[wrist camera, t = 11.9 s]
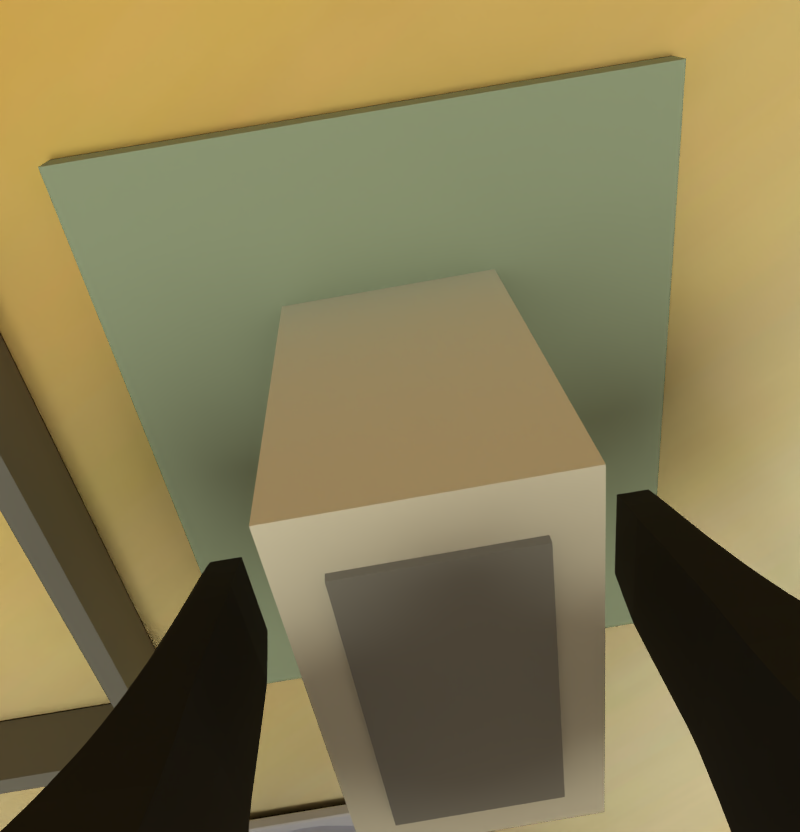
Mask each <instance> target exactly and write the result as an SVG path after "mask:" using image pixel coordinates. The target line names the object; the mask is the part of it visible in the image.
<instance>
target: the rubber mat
mask: <svg viewBox="0 0 800 832" xmlns="http://www.w3.org/2000/svg"><path fill="white" fill-rule="evenodd" d="M685 66H686V59H685V58H680V57H675V56H669V57H663V58H657V59H651V60H645V61H639V62H633V63H627V64H621V65H615V66H609V67H603V68H597V69H591V70H585V71H579V72H573V73H567V74H561V75H555V76H549V77H543V78H537V79H531V80H525V81H519V82H513V83H507V84H501V85H495V86H489V87H483V88H477V89H471V90H465V91H459V92H454V93H448V94H442V95H436V96H430V97H424V98H418V99H412V100H406V101H400V102H394V103H388V104H382V105H376V106H370V107H364V108H358V109H352V110H346V111H340V112H334V113H328V114H322V115H316V116H310V117H304V118H298V119H292V120H286V121H280V122H274V123H268V124H262V125H256V126H250V127H244V128H238V129H232V130H226V131H221V132H215V133H209V134H203V135H197V136H191V137H185V138H179V139H173V140H167V141H161V142H155V143H149V144H143V145H137V146H131V147H125V148H119V149H113V150H107V151H101V152H95V153H89V154H83V155H77V156H71V157H65V158H59V159H53V160H49V161H47V162H46V163H44V164H42V165H41V166H39V167H38V168H39V170H40V173H41V175H42V178H43V180H44V183H45V185H46V188H47V190H48V193H49V195H50V198H51V200H52V203H53V205H54V208H55V210H56V213H57V215H58V218H59V220H60V223H61V225H62V228H63V230H64V233H65V235H66V238H67V240H68V243H69V245H70V247H71V250H72V252H73V255H74V257H75V260H76V262H77V265H78V267H79V270H80V272H81V275H82V277H83V280H84V282H85V285H86V287H87V290H88V292H89V295H90V297H91V300H92V302H93V305H94V307H95V310H96V312H97V315H98V317H99V320H100V322H101V325H102V327H103V330H104V332H105V334H106V337H107V339H108V342H109V344H110V347H111V349H112V352H113V354H114V357H115V359H116V362H117V364H118V367H119V369H120V372H121V374H122V377H123V379H124V382H125V384H126V387H127V389H128V392H129V394H130V397H131V399H132V402H133V404H134V407H135V409H136V412H137V414H138V416H139V419H140V421H141V424H142V426H143V429H144V431H145V434H146V436H147V439H148V441H149V444H150V446H151V449H152V451H153V454H154V456H155V459H156V461H157V464H158V466H159V469H160V471H161V474H162V476H163V479H164V481H165V484H166V486H167V489H168V491H169V494H170V496H171V499H172V501H173V503H174V506H175V508H176V511H177V513H178V516H179V518H180V521H181V523H182V526H183V528H184V531H185V533H186V536H187V538H188V541H189V543H190V546H191V548H192V551H193V553H194V556H195V558H196V561H197V563H198V566H199V568H200V571H201V573H203V572H204V570H205V568H206V567H207V565H208V564H209V563H210V562H213V561H219V560H226V559H232V558H238V557H242V559H243V562H244V565H245V568H246V571H247V574H248V576H249V579H250V582H251V585H252V588H253V591H254V593H255V596H256V599H257V602H258V605H259V608H260V610H261V613H262V616H263V619H264V622H265V625H266V627H267V630H268V661H267V683H273V682H279V681H285V680H292V679H298V678H302V676H301V674H300V671H299V668H298V665H297V662H296V659H295V656H294V654H293V651H292V648H291V645H290V642H289V639H288V636H287V634H286V631H285V628H284V625H283V622H282V619H281V617H280V614H279V611H278V608H277V605H276V602H275V599H274V597H273V594H272V591H271V588H270V585H269V582H268V579H267V577H266V574H265V571H264V568H263V565H262V562H261V559H260V557H259V554H258V551H257V548H256V545H255V542H254V539H253V537H252V534H251V531H250V528H249V522H250V516H251V509H252V502H253V495H254V489H255V482H256V475H257V469H258V462H259V455H260V449H261V442H262V435H263V429H264V422H265V415H266V409H267V402H268V395H269V389H270V382H271V375H272V369H273V362H274V355H275V349H276V342H277V335H278V329H279V322H280V315H281V309H282V306H288V305H293V304H299V303H305V302H310V301H316V300H322V299H327V298H333V297H339V296H344V295H350V294H356V293H361V292H367V291H373V290H379V289H384V288H390V287H396V286H401V285H407V284H413V283H418V282H424V281H430V280H435V279H441V278H447V277H452V276H458V275H464V274H469V273H475V272H481V271H486V270H492V269H495V271H496V272H497V274H498V276H499V278H500V279H501V281H502V283H503V285H504V286H505V288H506V290H507V292H508V294H509V295H510V297H511V299H512V301H513V302H514V304H515V306H516V308H517V309H518V311H519V313H520V315H521V316H522V318H523V320H524V322H525V323H526V325H527V327H528V329H529V330H530V332H531V334H532V336H533V337H534V339H535V341H536V343H537V344H538V346H539V348H540V350H541V351H542V353H543V355H544V357H545V358H546V360H547V362H548V364H549V365H550V367H551V369H552V371H553V372H554V374H555V376H556V378H557V379H558V381H559V383H560V385H561V386H562V388H563V390H564V392H565V394H566V395H567V397H568V399H569V401H570V402H571V404H572V406H573V408H574V409H575V411H576V413H577V415H578V416H579V418H580V420H581V422H582V423H583V425H584V427H585V429H586V430H587V432H588V434H589V436H590V437H591V439H592V441H593V443H594V444H595V446H596V448H597V450H598V451H599V453H600V455H601V457H602V458H603V460H604V462H605V464H606V550H605V628H608V627H614V626H620V625H626V624H632V623H633V621H632V618H631V616H630V613H629V611H628V608H627V605H626V603H625V600H624V597H623V595H622V592H621V589H620V586H619V584H618V581H617V578H616V575H615V541H616V503H617V494H623V493H629V492H635V491H642V490H648V489H649V490H650V491H651V492H653V493H654V494H655V495H657V486H658V471H659V456H660V441H661V426H662V411H663V396H664V381H665V366H666V351H667V336H668V321H669V306H670V291H671V276H672V261H673V246H674V231H675V216H676V201H677V186H678V171H679V156H680V141H681V126H682V111H683V96H684V81H685Z"/></svg>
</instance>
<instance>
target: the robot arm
mask: <svg viewBox="0 0 800 832" xmlns="http://www.w3.org/2000/svg"><path fill="white" fill-rule="evenodd" d="M615 575H616V578H617V581H618V584H619V586H620V589H621V592H622V595H623V597H624V600H625V603H626V605H627V608H628V611H629V613H630V616H631V618H632V621H633V623H634V625H635V627H636V629H637V631H638V633H639V635H640V637H641V639H642V641H643V642H644V644H645V646H646V648H647V650H648V652H649V654H650V656H651V658H652V660H653V662H654V664H655V666H656V667H657V669H658V671H659V673H660V675H661V677H662V679H663V681H664V683H665V685H666V686H667V688H668V690H669V692H670V694H671V696H672V698H673V700H674V702H675V704H676V705H677V707H678V709H679V711H680V713H681V715H682V717H683V719H684V721H685V723H686V724H687V726H688V729H689V731H690V733H691V735H692V737H693V739H694V741H695V743H696V745H697V748H698V750H699V752H700V755H701V757H702V760H703V762H704V764H705V767H706V769H707V772H708V774H709V777H710V779H711V782H712V784H713V787H714V789H715V791H716V794H717V796H718V799H719V801H720V804H721V806H722V809H723V812H724V814H725V817H726V819H727V822H728V824H729V827H730V830H731V832H800V600H798V599H797V598H795V597H793V596H792V595H790V594H788V593H787V592H785V591H784V590H782V589H781V588H779V587H778V586H776V585H775V584H773V583H772V582H770V581H769V580H767V579H766V578H764V577H763V576H761V575H760V574H758V573H757V572H755V571H754V570H753V569H751V568H750V567H748V566H747V565H745V564H744V563H743V562H741V561H740V560H739V559H737V558H736V557H735V556H733V555H732V554H731V553H729V552H728V551H726V550H725V549H724V548H722V547H721V546H720V545H718V544H717V543H716V542H714V541H713V540H712V539H711V538H709V537H708V536H707V535H705V534H704V533H703V532H702V531H700V530H699V529H698V528H696V527H695V526H694V525H693V524H691V523H690V522H689V521H688V520H686V519H685V518H684V517H683V516H681V515H680V514H679V513H678V512H676V511H675V510H674V509H673V508H672V507H670V506H669V505H668V504H667V503H665V502H664V501H663V500H662V499H660V498H659V497H658V496H657V495H655V494H654V493H653V492H651V491H650V490H649V489H648V490H642V491H635V492H629V493H623V494H617V503H616V541H615ZM267 661H268V630H267V627H266V625H265V622H264V619H263V616H262V613H261V610H260V608H259V605H258V602H257V599H256V596H255V593H254V591H253V588H252V585H251V582H250V579H249V576H248V574H247V571H246V568H245V565H244V562H243V559H242V557H238V558H232V559H226V560H219V561H213V562H210V563H209V564H208V565H207V567H206V568H205V570H204V572H203V573H202V575H201V577H200V578H199V580H198V582H197V583H196V585H195V587H194V588H193V590H192V592H191V594H190V595H189V597H188V599H187V600H186V602H185V604H184V605H183V607H182V609H181V610H180V612H179V614H178V615H177V617H176V618H175V620H174V622H173V623H172V625H171V626H170V628H169V630H168V631H167V633H166V634H165V636H164V637H163V639H162V640H161V642H160V644H159V645H158V647H157V648H156V650H155V651H154V653H153V654H152V656H151V657H150V659H149V660H148V662H147V663H146V665H145V666H144V667H143V669H142V670H141V672H140V673H139V675H138V676H137V677H136V679H135V680H134V682H133V683H132V684H131V686H130V687H129V689H128V690H127V691H126V693H125V694H124V696H123V697H122V698H121V700H120V701H119V702H118V704H117V705H116V706H115V707H114V709H113V710H112V711H111V713H110V714H109V715H108V716H107V718H106V719H105V720H104V722H103V723H102V724H101V725H100V726H99V728H98V729H97V730H96V731H95V732H94V734H93V735H92V736H91V737H90V739H89V740H88V741H87V742H86V743H85V745H84V746H83V747H82V748H81V749H80V750H79V751H78V753H77V754H76V755H75V756H74V757H73V758H72V759H71V760H70V761H69V762H68V764H67V765H66V766H65V767H64V768H63V769H62V770H61V771H60V772H59V773H58V774H57V775H56V776H55V777H54V778H53V779H52V781H51V782H50V783H49V784H48V785H47V786H46V787H45V788H44V789H43V790H42V791H41V792H40V793H39V794H38V795H37V796H36V797H35V798H34V799H33V800H32V801H31V802H30V803H29V804H28V805H27V806H26V807H25V808H24V809H23V810H22V811H21V812H20V813H19V814H18V815H17V816H16V817H15V818H14V819H13V820H12V821H11V822H10V823H9V824H8V825H7V826H6V827H5V828H4V829H2V830H1V831H0V832H356V831H355V828H354V825H353V822H352V819H351V816H350V813H349V811H348V808H347V805H346V804H345V805H339V806H333V807H326V808H320V809H314V810H308V811H302V812H296V813H290V814H284V815H278V816H272V817H265V818H259V819H253V820H250V809H251V798H252V791H253V783H254V776H255V769H256V761H257V754H258V747H259V739H260V732H261V725H262V717H263V710H264V702H265V694H266V686H267Z"/></svg>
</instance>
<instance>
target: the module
mask: <svg viewBox="0 0 800 832" xmlns="http://www.w3.org/2000/svg"><path fill="white" fill-rule="evenodd" d="M249 528H250V531H251V534H252V537H253V539H254V542H255V545H256V548H257V551H258V554H259V557H260V559H261V562H262V565H263V568H264V571H265V574H266V577H267V579H268V582H269V585H270V588H271V591H272V594H273V597H274V599H275V602H276V605H277V608H278V611H279V614H280V617H281V619H282V622H283V625H284V628H285V631H286V634H287V636H288V639H289V642H290V645H291V648H292V651H293V654H294V656H295V659H296V662H297V665H298V668H299V671H300V674H301V676H302V679H303V682H304V685H305V688H306V691H307V694H308V696H309V699H310V702H311V705H312V708H313V711H314V714H315V716H316V719H317V722H318V725H319V728H320V731H321V734H322V736H323V739H324V742H325V745H326V748H327V751H328V753H329V756H330V759H331V762H332V765H333V768H334V771H335V773H336V776H337V779H338V782H339V785H340V788H341V791H342V793H343V796H344V799H345V802H346V805H347V808H348V811H349V813H350V816H351V819H352V822H353V825H354V828H355V831H356V832H489V831H495V830H501V829H507V828H513V827H519V826H525V825H530V824H536V823H542V822H548V821H554V820H560V819H566V818H572V817H578V816H584V815H590V814H596V813H602V812H604V765H605V550H606V464H605V462H604V460H603V458H602V457H601V455H600V453H599V451H598V450H597V448H596V446H595V444H594V443H593V441H592V439H591V437H590V436H589V434H588V432H587V430H586V429H585V427H584V425H583V423H582V422H581V420H580V418H579V416H578V415H577V413H576V411H575V409H574V408H573V406H572V404H571V402H570V401H569V399H568V397H567V395H566V394H565V392H564V390H563V388H562V386H561V385H560V383H559V381H558V379H557V378H556V376H555V374H554V372H553V371H552V369H551V367H550V365H549V364H548V362H547V360H546V358H545V357H544V355H543V353H542V351H541V350H540V348H539V346H538V344H537V343H536V341H535V339H534V337H533V336H532V334H531V332H530V330H529V329H528V327H527V325H526V323H525V322H524V320H523V318H522V316H521V315H520V313H519V311H518V309H517V308H516V306H515V304H514V302H513V301H512V299H511V297H510V295H509V294H508V292H507V290H506V288H505V286H504V285H503V283H502V281H501V279H500V278H499V276H498V274H497V272H496V271H495V269H492V270H486V271H481V272H475V273H469V274H464V275H458V276H452V277H447V278H441V279H435V280H430V281H424V282H418V283H413V284H407V285H401V286H396V287H390V288H384V289H379V290H373V291H367V292H361V293H356V294H350V295H344V296H339V297H333V298H327V299H322V300H316V301H310V302H305V303H299V304H293V305H288V306H282V309H281V315H280V322H279V329H278V335H277V342H276V349H275V355H274V362H273V369H272V375H271V382H270V389H269V395H268V402H267V409H266V415H265V422H264V429H263V435H262V442H261V449H260V455H259V462H258V469H257V475H256V482H255V489H254V495H253V502H252V509H251V516H250V522H249Z"/></svg>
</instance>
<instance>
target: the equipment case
mask: <svg viewBox="0 0 800 832" xmlns="http://www.w3.org/2000/svg"><path fill="white" fill-rule="evenodd" d="M0 511H1V512H2V514H3V516H4V518H5V519H6V521H7V523H8V525H9V526H10V528H11V530H12V532H13V533H14V535H15V537H16V539H17V540H18V542H19V544H20V546H21V547H22V549H23V551H24V552H25V554H26V556H27V558H28V559H29V561H30V563H31V565H32V566H33V568H34V570H35V572H36V573H37V575H38V577H39V579H40V580H41V582H42V584H43V586H44V587H45V589H46V591H47V593H48V594H49V596H50V598H51V599H52V601H53V603H54V605H55V606H56V608H57V610H58V612H59V613H60V615H61V617H62V619H63V620H64V622H65V624H66V626H67V627H68V629H69V631H70V633H71V634H72V636H73V638H74V640H75V641H76V643H77V645H78V646H79V648H80V650H81V652H82V653H83V655H84V657H85V659H86V660H87V662H88V664H89V666H90V667H91V669H92V671H93V673H94V674H95V676H96V678H97V680H98V681H99V683H100V685H101V687H102V688H103V690H104V692H105V693H106V695H107V697H108V699H109V700H110V702H111V704H108V705H102V706H96V707H89V708H83V709H77V710H71V711H65V712H59V713H53V714H47V715H41V716H35V717H29V718H23V719H17V720H10V721H4V722H0V794H2V793H8V792H14V791H21V790H27V789H33V788H39V787H45V786H47V785H48V784H49V783H50V782H51V781H52V779H53V778H54V777H55V776H56V775H57V774H58V773H59V772H60V771H61V770H62V769H63V768H64V767H65V766H66V765H67V764H68V762H69V761H70V760H71V759H72V758H73V757H74V756H75V755H76V754H77V753H78V751H79V750H80V749H81V748H82V747H83V746H84V745H85V743H86V742H87V741H88V740H89V739H90V737H91V736H92V735H93V734H94V732H95V731H96V730H97V729H98V728H99V726H100V725H101V724H102V723H103V722H104V720H105V719H106V718H107V716H108V715H109V714H110V713H111V711H112V710H113V709H114V707H115V706H116V705H117V704H118V702H119V701H120V700H121V698H122V697H123V696H124V694H125V693H126V691H127V690H128V689H129V687H130V686H131V684H132V683H133V682H134V680H135V679H136V677H137V676H138V675H139V673H140V672H141V670H142V669H143V667H144V666H145V665H146V663H147V662H148V660H149V659H150V657H151V656H152V654H153V653H154V651H155V649H154V647H153V645H152V643H151V641H150V639H149V637H148V635H147V633H146V631H145V629H144V627H143V624H142V622H141V620H140V618H139V616H138V614H137V612H136V610H135V608H134V606H133V604H132V602H131V600H130V598H129V596H128V594H127V592H126V590H125V588H124V586H123V584H122V582H121V580H120V578H119V576H118V573H117V571H116V569H115V567H114V565H113V563H112V561H111V559H110V557H109V555H108V553H107V551H106V549H105V547H104V545H103V543H102V541H101V539H100V537H99V535H98V533H97V531H96V529H95V527H94V525H93V522H92V520H91V518H90V516H89V514H88V512H87V510H86V508H85V506H84V504H83V502H82V500H81V498H80V496H79V494H78V492H77V490H76V488H75V486H74V484H73V482H72V480H71V478H70V476H69V473H68V471H67V469H66V467H65V465H64V463H63V461H62V459H61V457H60V455H59V453H58V451H57V449H56V447H55V445H54V443H53V441H52V439H51V437H50V435H49V433H48V431H47V429H46V427H45V425H44V422H43V420H42V418H41V416H40V414H39V412H38V410H37V408H36V406H35V404H34V402H33V400H32V398H31V396H30V394H29V392H28V390H27V388H26V386H25V384H24V382H23V380H22V378H21V376H20V374H19V371H18V369H17V367H16V365H15V363H14V361H13V359H12V357H11V355H10V353H9V351H8V349H7V347H6V345H5V343H4V341H3V339H2V337H1V335H0Z"/></svg>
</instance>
